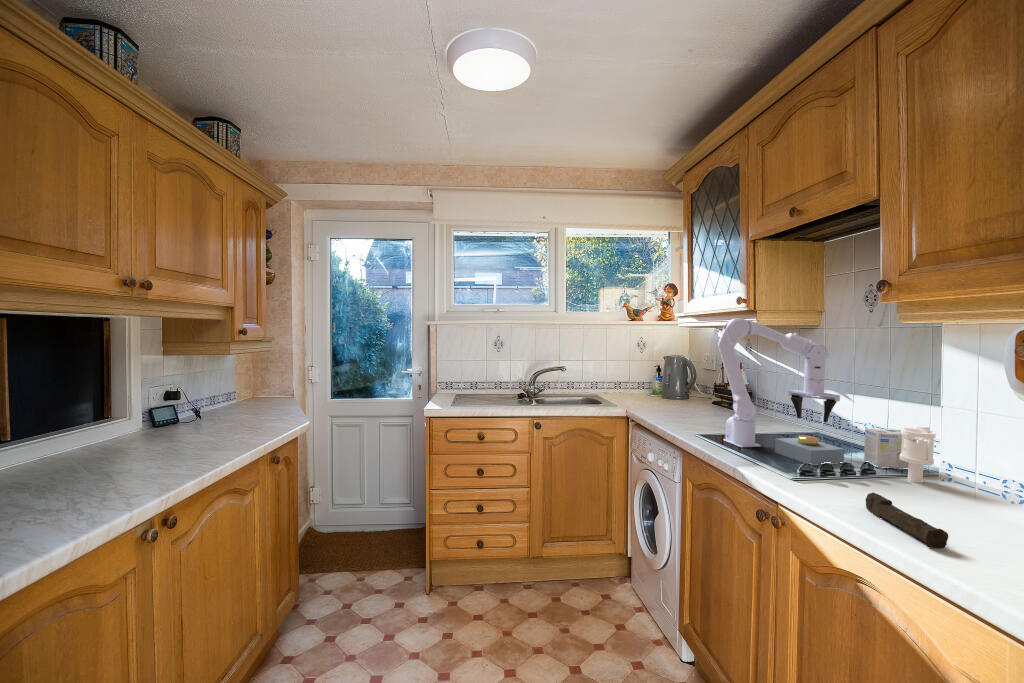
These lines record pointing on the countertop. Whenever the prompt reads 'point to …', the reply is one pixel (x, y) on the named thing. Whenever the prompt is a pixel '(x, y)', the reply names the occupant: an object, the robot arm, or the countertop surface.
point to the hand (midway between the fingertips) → (812, 419)
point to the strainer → (917, 450)
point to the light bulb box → (884, 448)
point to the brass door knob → (808, 440)
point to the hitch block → (809, 451)
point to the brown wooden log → (906, 521)
